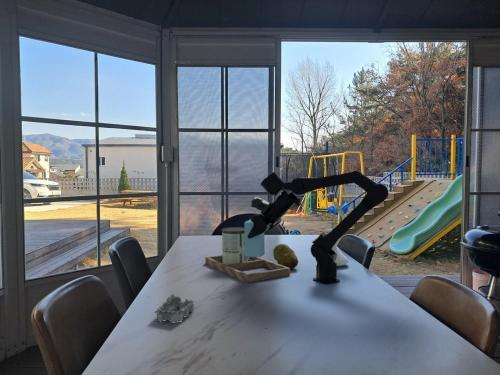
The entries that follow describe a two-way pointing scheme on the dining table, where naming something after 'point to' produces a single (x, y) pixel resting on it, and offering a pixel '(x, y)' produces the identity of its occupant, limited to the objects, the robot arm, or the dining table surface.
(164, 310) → the egg carton
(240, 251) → the coffee can
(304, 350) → the dining table surface
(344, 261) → the flower in vase
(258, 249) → the milk carton
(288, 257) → the potato
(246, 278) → the light wood flat frame
